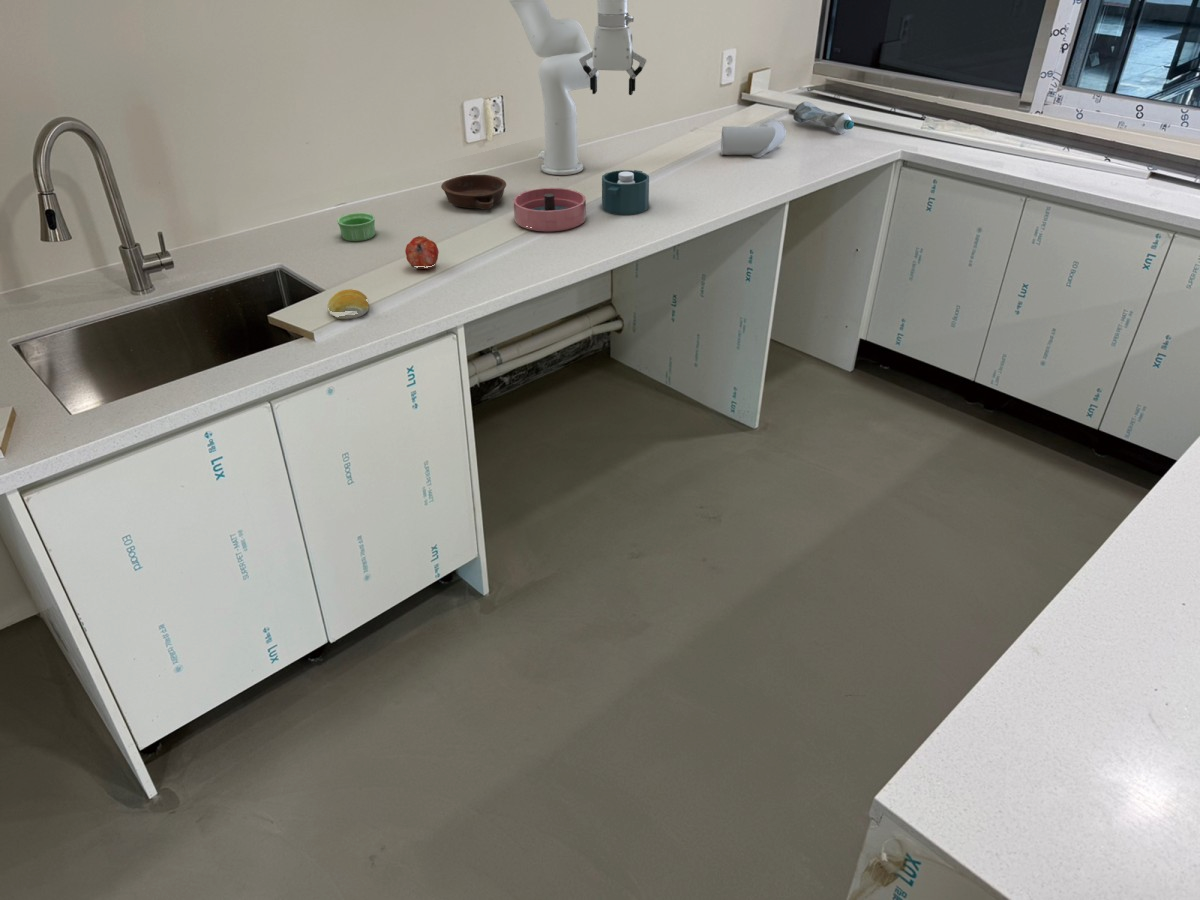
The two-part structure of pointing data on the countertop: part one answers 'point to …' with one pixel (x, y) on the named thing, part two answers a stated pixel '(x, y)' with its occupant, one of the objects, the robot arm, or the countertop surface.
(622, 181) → the pill bottle
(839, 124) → the crushed plastic bottle
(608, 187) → the pot
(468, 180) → the dish
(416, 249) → the pomegranate
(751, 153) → the bent grey cylinder
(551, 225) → the bowl
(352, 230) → the ramekin
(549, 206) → the lid
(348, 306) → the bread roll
